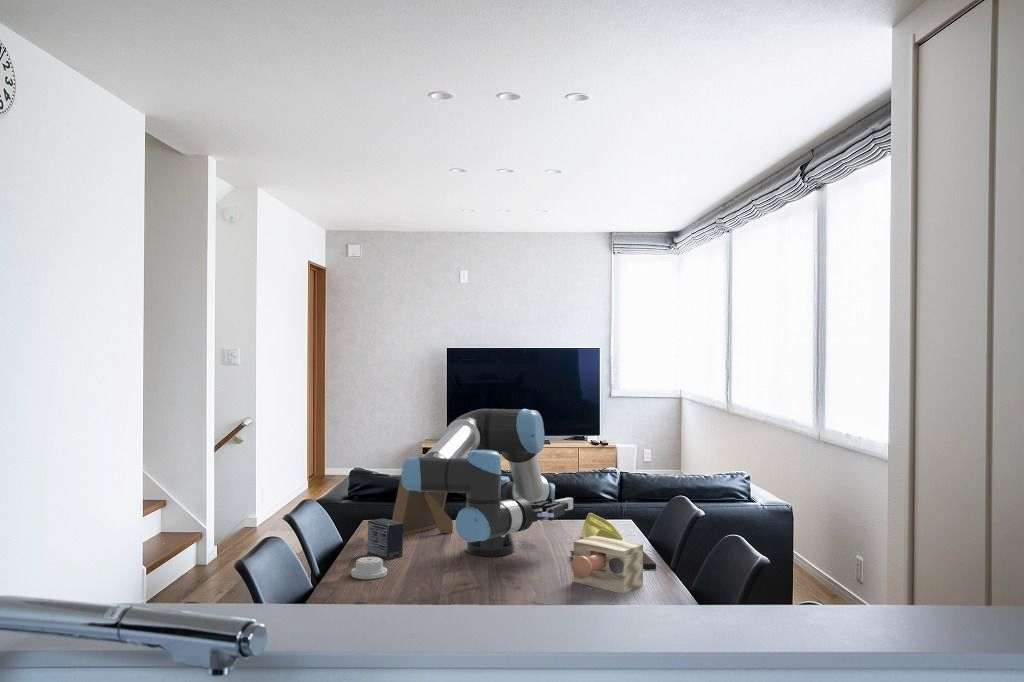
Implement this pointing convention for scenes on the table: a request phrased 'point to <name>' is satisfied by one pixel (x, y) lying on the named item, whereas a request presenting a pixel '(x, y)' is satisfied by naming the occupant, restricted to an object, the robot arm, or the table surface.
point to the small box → (385, 538)
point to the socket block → (612, 563)
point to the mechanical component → (369, 568)
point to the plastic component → (599, 528)
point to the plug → (588, 564)
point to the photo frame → (421, 511)
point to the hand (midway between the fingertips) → (570, 503)
